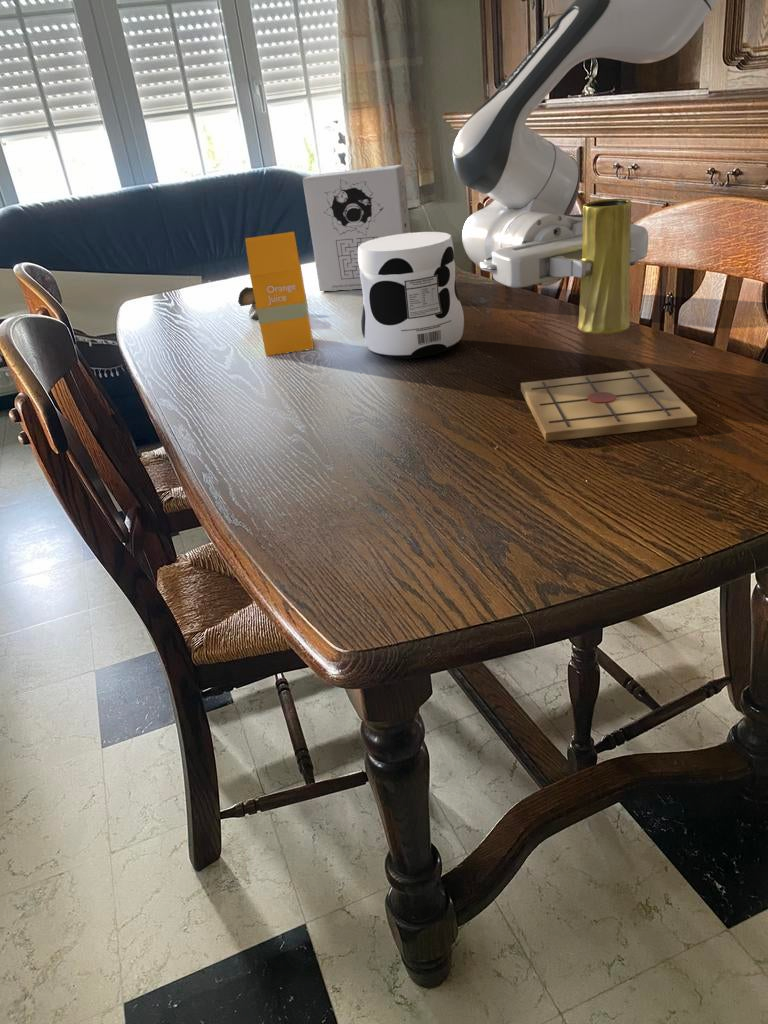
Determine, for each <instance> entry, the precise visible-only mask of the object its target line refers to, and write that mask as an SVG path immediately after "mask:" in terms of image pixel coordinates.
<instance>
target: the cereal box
mask: <svg viewBox="0 0 768 1024" xmlns="http://www.w3.org/2000/svg"><path fill="white" fill-rule="evenodd" d="M405 171H406V170H405V165H404V164H395V165H387V166H378V167H370V168H369V167H368V168H360V169H352V170H351V169H350V170H342V171H341V170H340V171H333V172H323V173H315V174H311V175H308V176H305V177H303V178H302V185H303V192H304V197H305V205H306V210H307V217H308V223H309V230H310V237H311V244H312V250H313V255H314V256H313V257H314V262H315V268H316V275H317V280H318V287H319V292H320V291H334V290H350V291H353V290H352V289H362V285H361V279H360V268H359V263H358V247H359V246H360V245H361V244H362V243H365V242H367V241H369V240H373V239H377V238H381V237H386V236H391V235H397V234H405V233H411V225H410V213H409V204H408V203H409V202H408V193H407V181H406V172H405Z"/></svg>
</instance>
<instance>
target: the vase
mask: <svg viewBox="0 0 768 1024" xmlns="http://www.w3.org/2000/svg"><path fill="white" fill-rule="evenodd" d="M582 214H583V239H582V258H584V259H588V260H591V261H592V268H591V269H592V274H591V275H589V276H585V277H582V278H580V290H579V291H580V292H579V307H578V308H579V309H578V323H577V329H578V330H579V331H580V332H582V333H585V334H588V335H613V334H618V333H622V332H624V331H626V330H628V329H629V328H630V326H631V321H630V301H631V300H630V299H631V298H630V296H631V295H630V294H631V288H630V287H631V286H630V280H631V266H630V236H631V224H632V200H631V199H628V198H606V199H605V198H604V199H599V200H592V201H587V202H585V203H584V204H583V205H582Z"/></svg>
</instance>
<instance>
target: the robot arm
mask: <svg viewBox="0 0 768 1024" xmlns="http://www.w3.org/2000/svg"><path fill="white" fill-rule="evenodd" d="M719 1H720V0H574V1H573V2H571V4H570V5H569V6H568V7H567V8H566V9H565V10H564V11H563V12H562V14H561V15H560V16H558V18H557V19H556V20H555V22H554V23H553V24H551V26H549V28H548V29H547V30H546V32H545V33H544V34H543V35H542V37H540V38H539V40H538V41H537V42H536V44H535V45H534V46H533V47H532V48H531V49H530V50H529V52H528V53H527V54H526V55H525V57H524V58H523V59H522V60H521V61H520V63H519V64H518V65H517V66H516V67H515V69H514V70H513V71H512V72H511V73H510V74H509V76H508V77H507V78H506V80H505V81H503V82H502V84H501V85H500V86H499V87H498V89H496V91H495V92H494V93H493V94H492V96H490V97H489V98H488V99H487V100H486V101H485V102H484V103H483V104H482V105H481V106H479V108H478V109H476V110H475V111H474V112H473V113H472V114H471V115H470V116H469V117H468V118H467V119H466V121H465V122H464V123H463V124H462V126H461V127H460V128H459V130H458V132H457V133H456V136H455V138H454V140H453V143H452V144H453V145H452V160H453V167H454V171H455V173H456V176H457V179H458V181H459V183H460V184H461V185H462V186H465V187H467V188H470V189H472V190H473V191H475V192H478V193H480V194H481V195H486V196H487V197H489V198H491V199H492V202H491V203H489V204H488V205H487V206H486V207H483V208H481V209H479V210H477V211H475V212H473V213H472V214H470V215H469V217H468V218H467V219H466V221H465V223H464V224H463V228H462V233H461V241H462V246H463V249H464V251H465V253H466V255H467V256H468V258H469V259H470V261H472V262H473V263H474V264H475V266H477V267H479V268H480V270H482V271H484V272H490V273H492V278H493V280H494V281H496V282H497V283H499V284H501V285H503V286H506V287H508V288H513V289H514V288H516V289H517V288H519V289H520V288H521V289H522V288H526V287H530V286H535V285H536V286H540V287H547V286H551V285H554V284H556V283H558V282H559V281H561V280H562V279H563V278H564V279H565V278H568V277H569V278H570V277H574V278H579V279H581V278H582V277H585V276H589V275H591V274H592V269H591V268H592V261H591V260H588V259H584V258H582V239H583V213H581V214H571V213H572V212H573V210H574V208H575V205H576V202H577V199H578V196H579V192H580V187H581V174H580V167H579V164H578V161H577V160H576V159H575V158H574V157H572V156H571V155H570V154H569V153H567V152H566V151H565V150H563V149H562V148H560V147H559V146H557V145H556V144H554V143H553V142H552V141H550V140H548V139H546V138H545V137H543V136H542V135H541V134H539V133H538V132H537V131H535V130H534V129H532V128H531V127H529V126H528V125H526V123H527V120H528V119H529V117H531V114H532V113H533V112H534V111H535V110H536V109H537V108H538V106H539V105H541V104H542V102H543V101H544V100H545V98H547V96H548V95H549V94H550V93H551V91H553V89H554V88H555V87H556V86H557V85H558V84H559V83H560V81H561V80H562V79H563V78H564V77H565V76H566V75H567V73H568V72H569V71H570V70H571V69H573V68H574V67H575V66H576V65H579V64H580V63H581V62H582V63H583V62H584V61H586V60H591V59H598V58H600V59H601V58H602V59H611V60H616V61H621V62H625V63H631V64H651V63H655V62H660V61H662V60H665V59H668V58H669V57H671V56H674V55H675V54H676V53H678V52H679V51H680V50H681V49H682V48H684V46H685V45H686V44H687V43H688V42H689V41H690V40H691V39H692V38H693V37H694V35H695V34H696V32H697V31H698V30H699V29H700V27H701V26H702V25H703V23H704V22H705V20H706V19H707V18H708V16H709V15H710V13H711V12H712V11H713V9H714V8H715V6H716V5H717V4H718V2H719ZM648 249H649V232H648V229H647V228H646V227H644V226H642V225H638V224H635V223H631V236H630V267H631V266H635V265H638V263H639V261H640V260H644V259H645V258H646V257H647V255H648Z"/></svg>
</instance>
